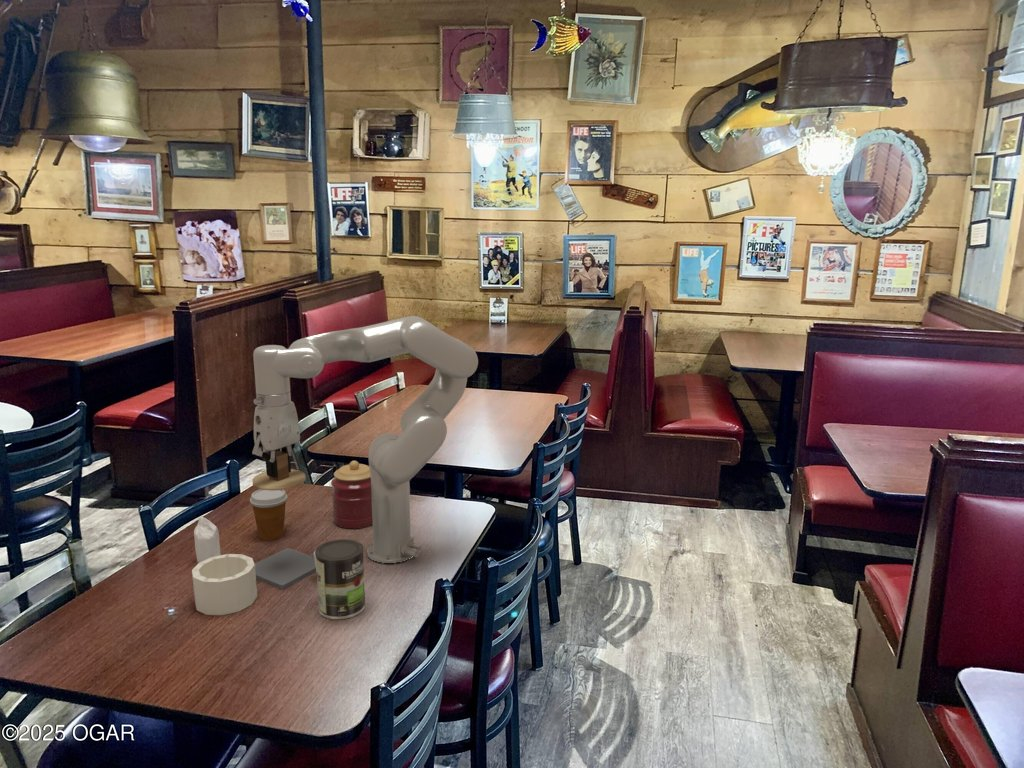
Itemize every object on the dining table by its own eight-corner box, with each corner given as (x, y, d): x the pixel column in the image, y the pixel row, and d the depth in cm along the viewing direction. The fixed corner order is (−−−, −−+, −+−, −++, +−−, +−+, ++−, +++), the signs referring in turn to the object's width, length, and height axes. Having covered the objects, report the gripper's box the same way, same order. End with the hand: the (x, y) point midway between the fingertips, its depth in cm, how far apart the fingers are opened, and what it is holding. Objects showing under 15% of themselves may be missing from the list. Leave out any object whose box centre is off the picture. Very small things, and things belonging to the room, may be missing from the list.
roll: (222, 512, 184) (207, 521, 179) (225, 556, 187) (211, 566, 182) (201, 509, 186) (186, 518, 181) (205, 552, 189) (190, 562, 183)
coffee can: (375, 603, 166) (373, 546, 163) (342, 625, 157) (339, 564, 154) (341, 590, 171) (339, 534, 168) (308, 610, 163) (304, 552, 159)
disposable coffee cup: (244, 539, 197) (241, 497, 194) (269, 525, 205) (266, 484, 202) (273, 545, 193) (270, 502, 190) (297, 531, 202) (294, 490, 199)
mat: (327, 565, 183) (326, 561, 183) (282, 589, 171) (282, 585, 171) (288, 551, 190) (287, 547, 190) (242, 573, 179) (242, 569, 178)
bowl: (268, 595, 169) (266, 563, 167) (220, 621, 158) (217, 587, 156) (231, 580, 175) (229, 549, 173) (183, 604, 165) (179, 571, 163)
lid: (316, 478, 177) (314, 451, 176) (276, 494, 167) (274, 466, 166) (281, 468, 183) (280, 442, 182) (241, 483, 173) (239, 456, 172)
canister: (357, 506, 218) (355, 450, 214) (389, 518, 211) (387, 459, 207) (323, 521, 208) (320, 462, 204) (355, 533, 201) (352, 472, 196)
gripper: (255, 409, 162) (261, 488, 166) (312, 394, 175) (316, 467, 180) (233, 404, 166) (239, 481, 170) (290, 389, 179) (294, 461, 184)
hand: (278, 473), depth 175 cm, fingers closed on lid, 3 cm apart
